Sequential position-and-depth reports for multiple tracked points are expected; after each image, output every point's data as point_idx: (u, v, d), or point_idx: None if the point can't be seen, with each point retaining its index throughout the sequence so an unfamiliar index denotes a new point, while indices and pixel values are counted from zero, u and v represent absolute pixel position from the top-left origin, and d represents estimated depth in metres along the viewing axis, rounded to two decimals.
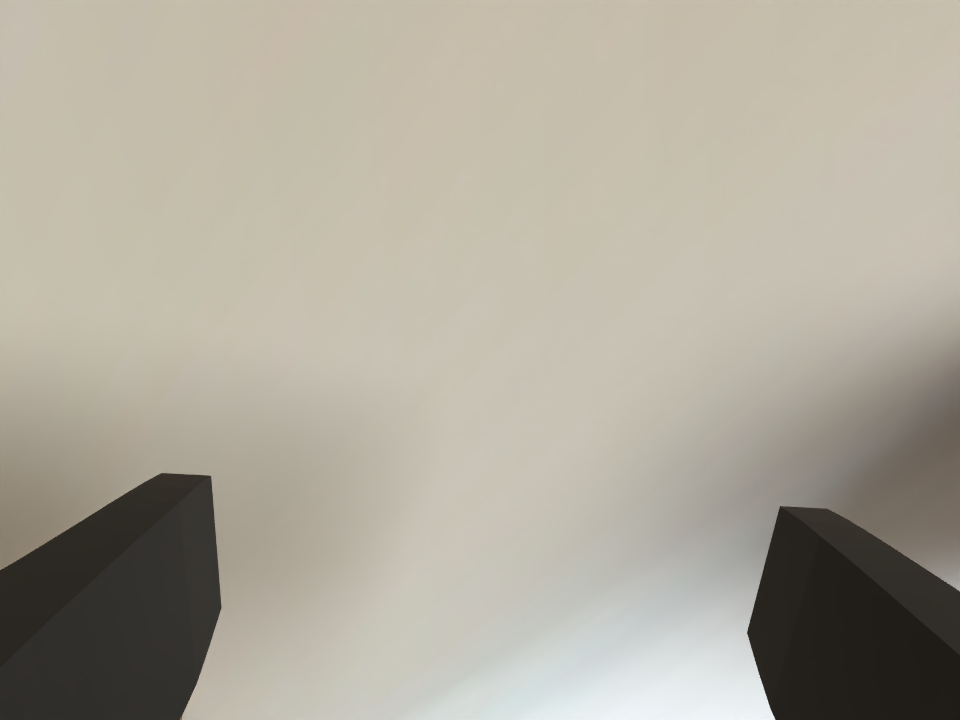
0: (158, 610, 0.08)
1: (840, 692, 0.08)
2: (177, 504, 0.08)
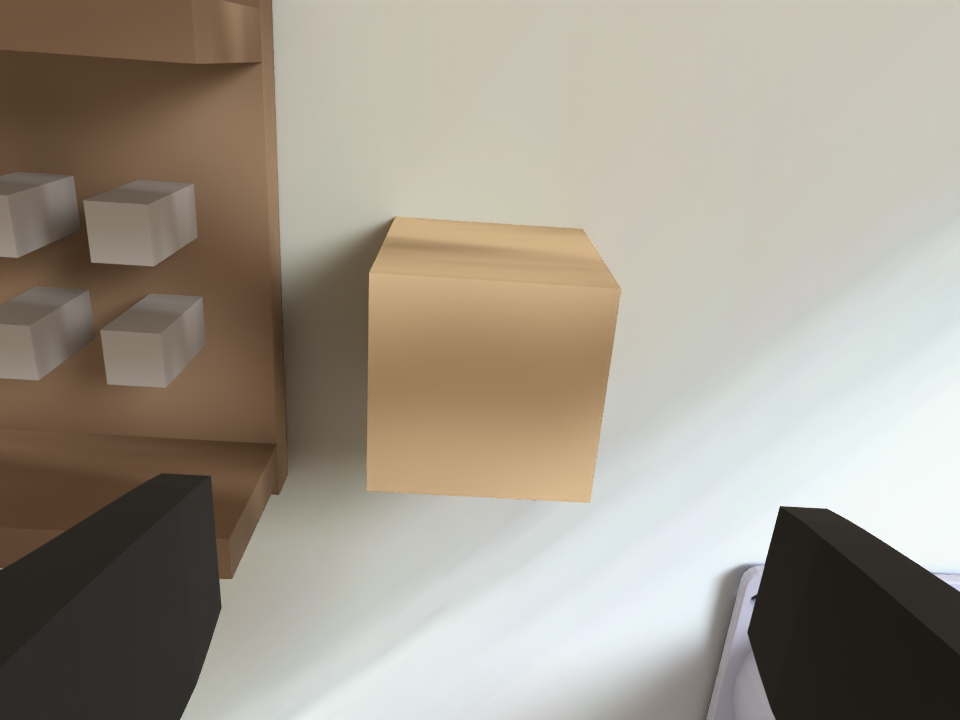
0: (158, 610, 0.08)
1: (840, 692, 0.08)
2: (177, 504, 0.08)
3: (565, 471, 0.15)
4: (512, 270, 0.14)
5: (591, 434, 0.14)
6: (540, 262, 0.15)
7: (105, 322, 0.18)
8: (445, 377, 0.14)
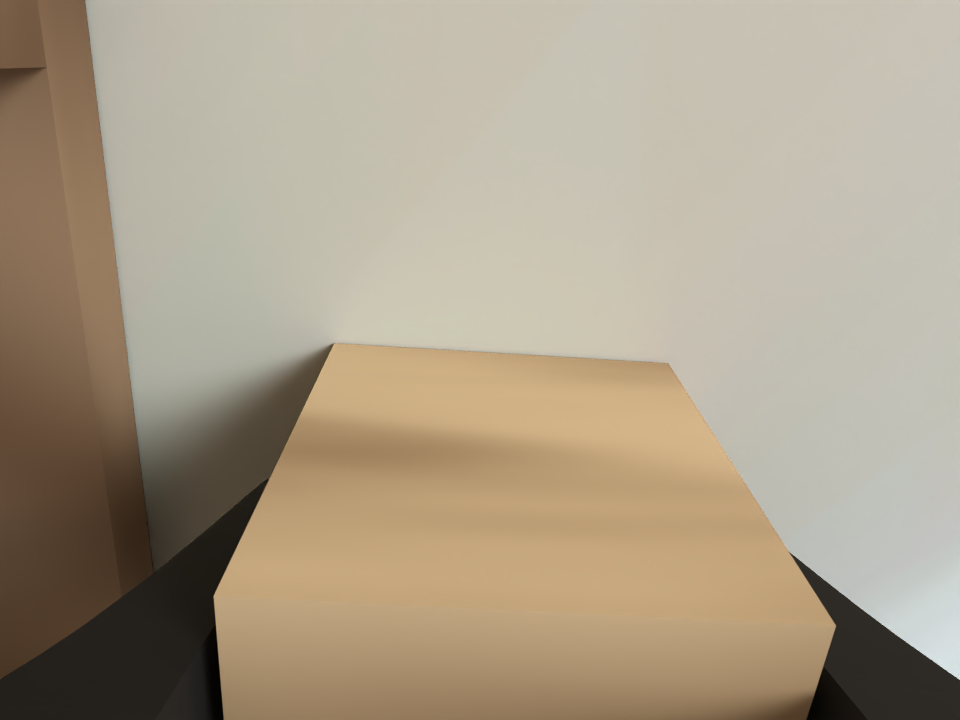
0: None
1: None
2: None
3: None
4: (564, 546, 0.06)
5: None
6: (618, 501, 0.07)
7: None
8: None
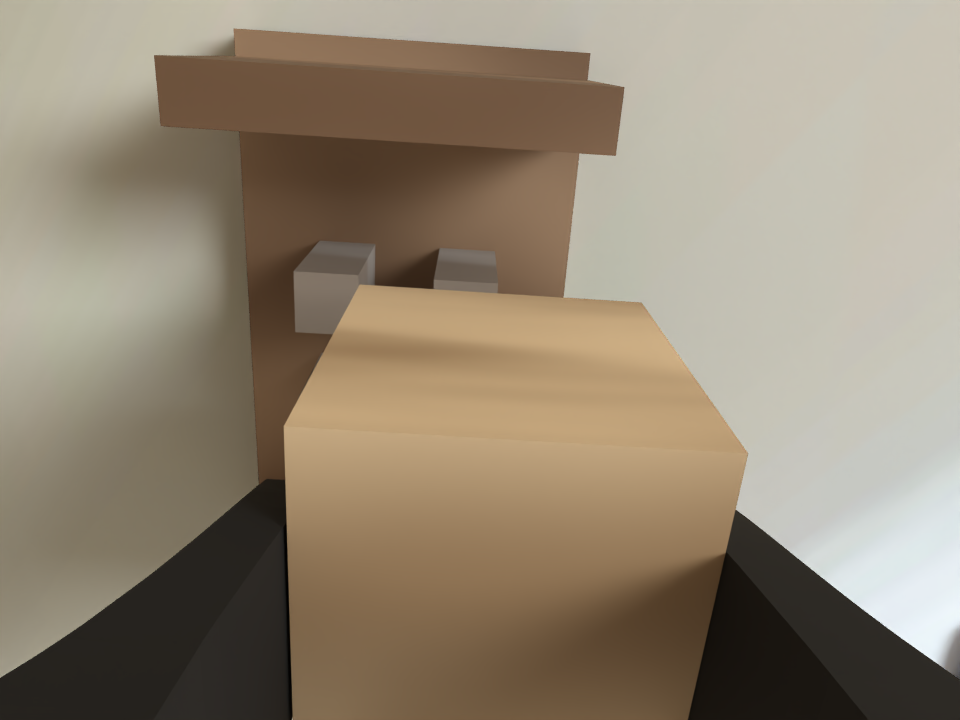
0: (280, 616, 0.08)
1: (720, 688, 0.08)
2: None
3: None
4: (545, 407, 0.08)
5: (681, 686, 0.08)
6: (591, 384, 0.09)
7: None
8: (426, 597, 0.08)
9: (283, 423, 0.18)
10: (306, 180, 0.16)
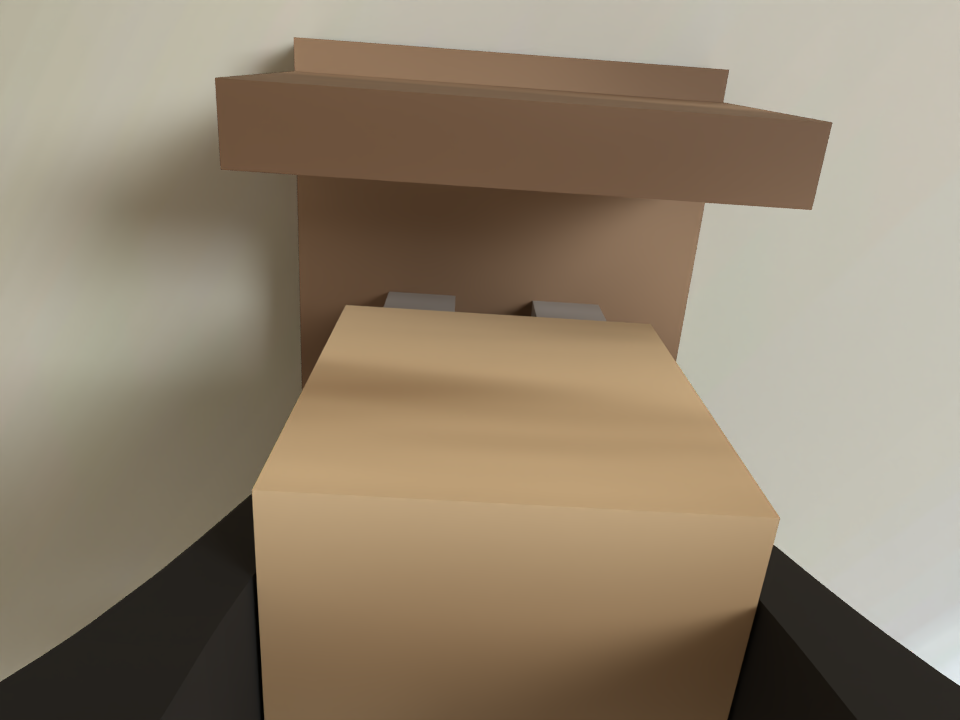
0: None
1: None
2: None
3: None
4: (549, 460, 0.07)
5: None
6: (599, 428, 0.08)
7: None
8: (417, 674, 0.07)
9: None
10: (375, 220, 0.13)
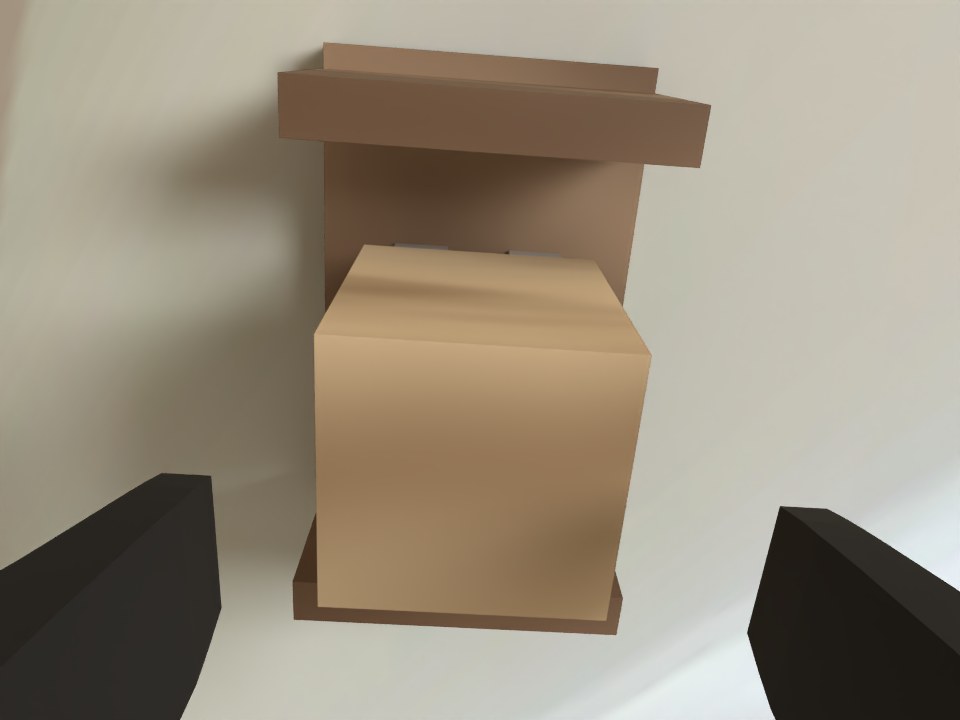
0: (158, 610, 0.08)
1: (840, 692, 0.08)
2: (177, 504, 0.08)
3: (575, 583, 0.11)
4: (506, 326, 0.11)
5: (609, 537, 0.11)
6: (543, 312, 0.11)
7: None
8: (418, 467, 0.11)
9: None
10: (385, 185, 0.16)
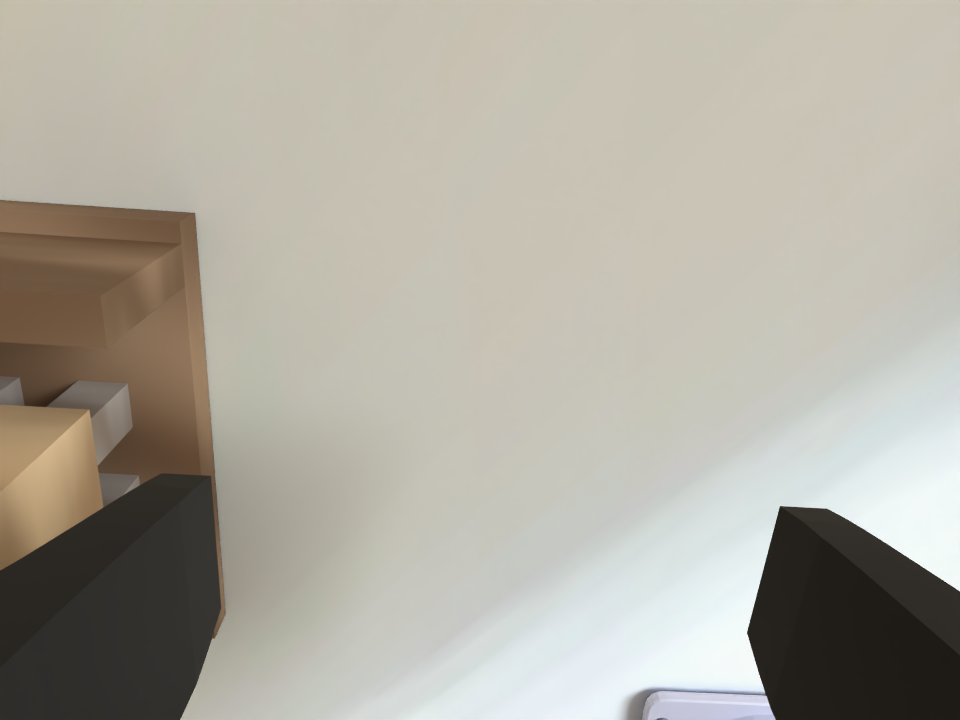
0: (158, 610, 0.08)
1: (840, 691, 0.08)
2: (177, 504, 0.08)
3: None
4: None
5: None
6: None
7: None
8: None
9: None
10: None
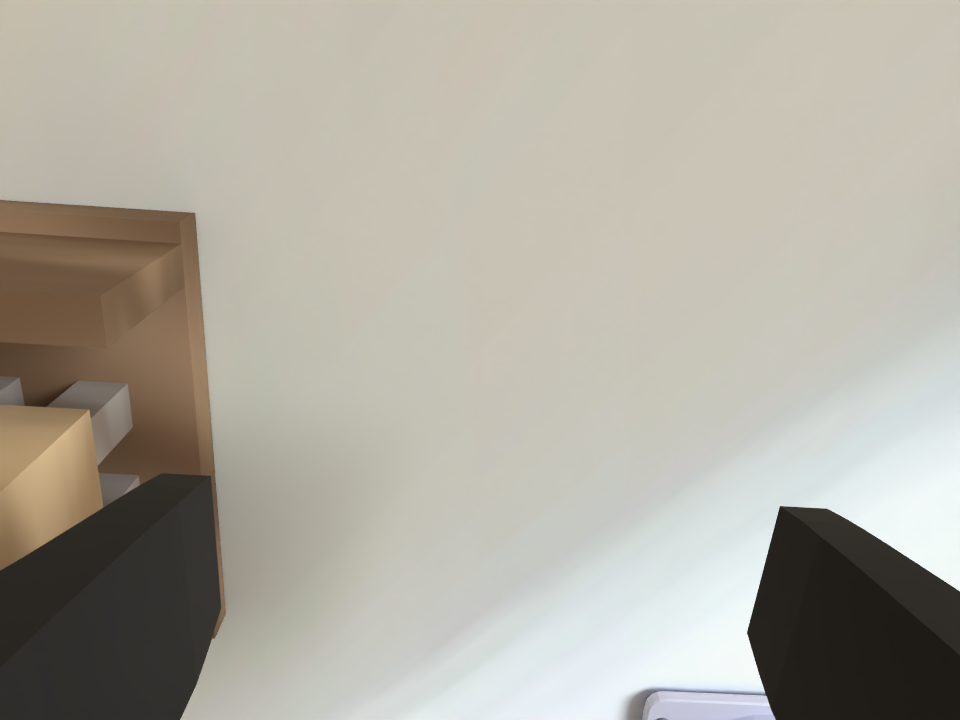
0: (158, 610, 0.08)
1: (840, 691, 0.08)
2: (177, 504, 0.08)
3: None
4: None
5: None
6: None
7: None
8: None
9: None
10: None
